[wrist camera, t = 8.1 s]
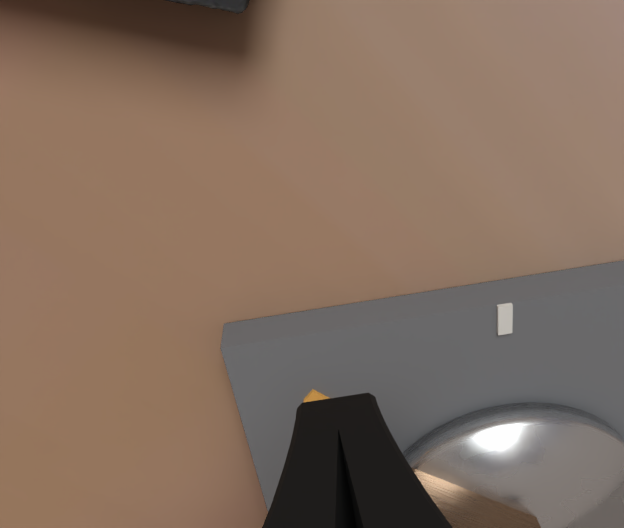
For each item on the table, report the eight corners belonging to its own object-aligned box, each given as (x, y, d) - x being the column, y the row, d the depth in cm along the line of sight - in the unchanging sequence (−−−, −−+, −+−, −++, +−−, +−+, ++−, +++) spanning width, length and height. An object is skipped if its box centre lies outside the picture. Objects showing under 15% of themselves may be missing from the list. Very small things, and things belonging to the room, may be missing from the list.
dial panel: (764, 238, 21) (800, 260, 20) (681, 571, 31) (701, 602, 30) (224, 323, 22) (220, 350, 20) (308, 624, 32) (309, 657, 30)
